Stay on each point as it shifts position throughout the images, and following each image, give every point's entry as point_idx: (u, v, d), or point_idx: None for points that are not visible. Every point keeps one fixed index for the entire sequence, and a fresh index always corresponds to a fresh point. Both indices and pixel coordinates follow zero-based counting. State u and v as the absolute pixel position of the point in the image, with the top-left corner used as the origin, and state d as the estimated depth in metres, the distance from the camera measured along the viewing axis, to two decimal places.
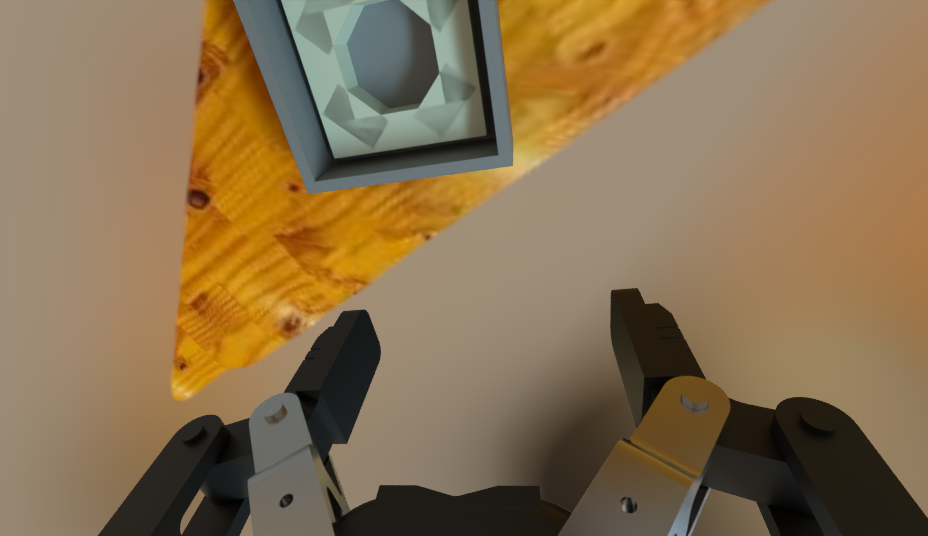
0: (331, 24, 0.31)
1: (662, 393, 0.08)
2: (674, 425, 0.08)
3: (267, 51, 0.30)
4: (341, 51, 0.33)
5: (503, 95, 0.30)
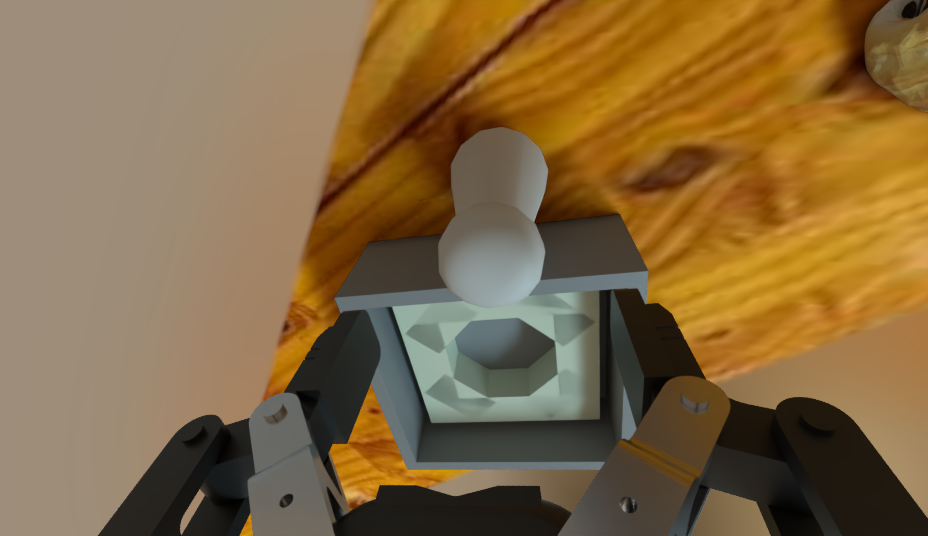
0: (446, 333, 0.29)
1: (662, 393, 0.08)
2: (674, 425, 0.08)
3: (382, 374, 0.28)
4: None
5: None
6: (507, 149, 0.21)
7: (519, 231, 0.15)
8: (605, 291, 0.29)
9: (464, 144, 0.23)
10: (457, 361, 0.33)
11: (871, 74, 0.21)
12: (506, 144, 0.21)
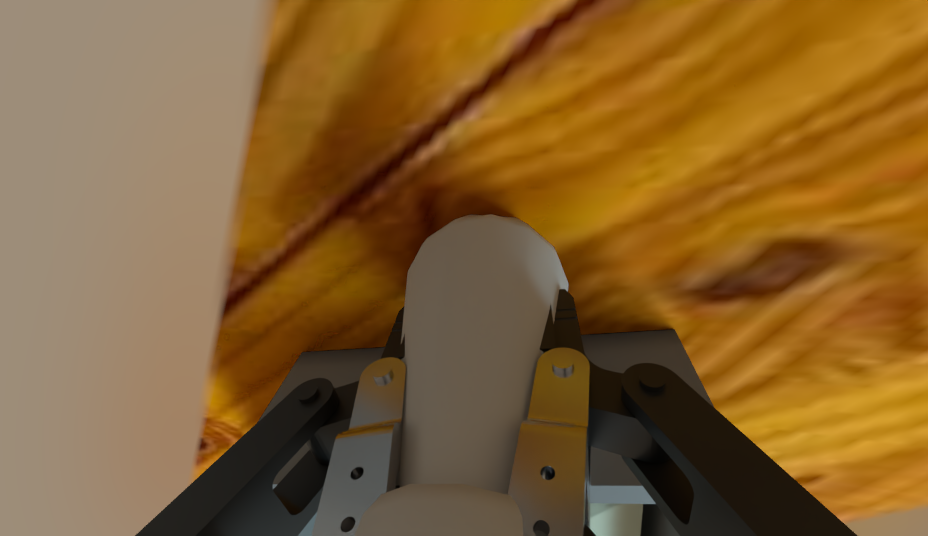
0: None
1: (538, 361, 0.10)
2: (539, 386, 0.09)
3: None
4: None
5: None
6: (499, 270, 0.12)
7: None
8: None
9: (427, 243, 0.14)
10: None
11: None
12: (497, 258, 0.12)
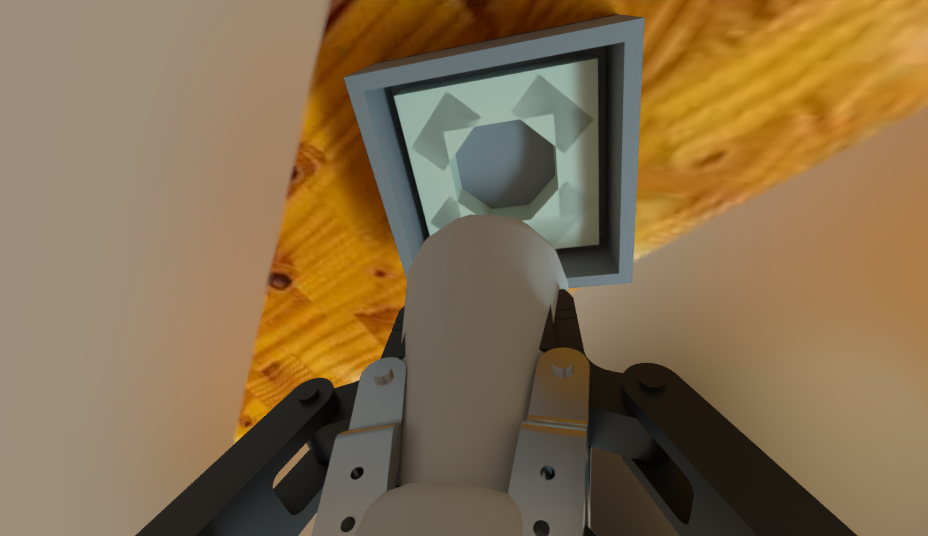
0: (450, 143, 0.30)
1: None
2: (539, 386, 0.09)
3: (389, 177, 0.29)
4: (453, 162, 0.32)
5: (633, 222, 0.29)
6: (499, 270, 0.12)
7: None
8: (604, 103, 0.30)
9: (428, 243, 0.14)
10: (461, 193, 0.34)
11: None
12: (498, 258, 0.12)
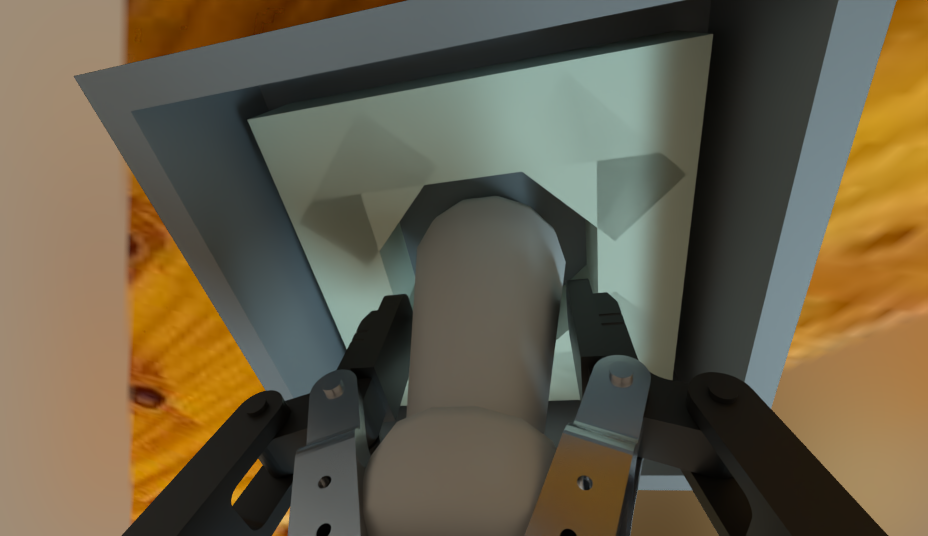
0: (377, 217, 0.15)
1: (593, 370, 0.09)
2: (598, 397, 0.09)
3: (240, 293, 0.14)
4: (391, 245, 0.17)
5: (771, 398, 0.13)
6: (504, 243, 0.13)
7: (527, 516, 0.06)
8: None
9: (437, 221, 0.15)
10: (412, 294, 0.19)
11: None
12: (502, 233, 0.13)
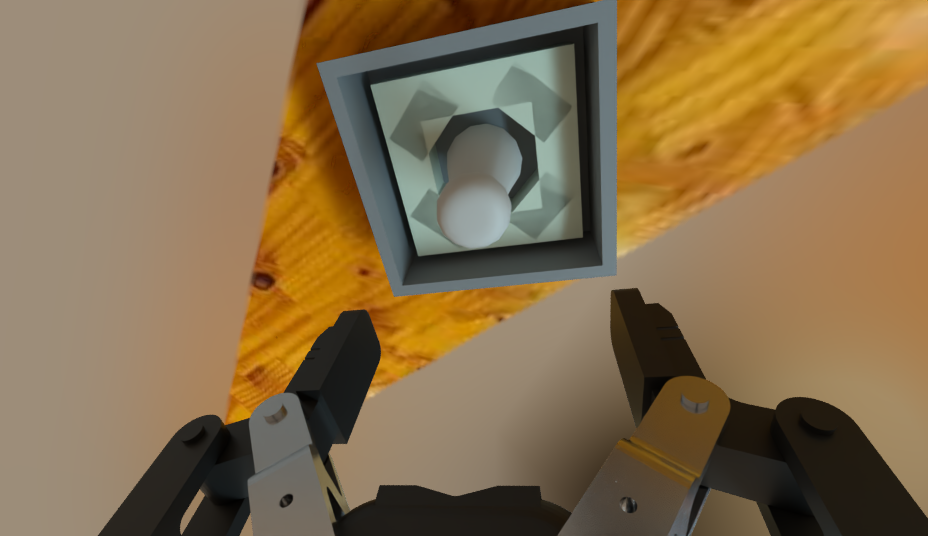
0: (428, 133, 0.30)
1: (662, 393, 0.08)
2: (674, 425, 0.08)
3: (366, 167, 0.29)
4: (433, 154, 0.32)
5: (615, 211, 0.28)
6: (489, 139, 0.28)
7: (492, 189, 0.22)
8: (584, 93, 0.30)
9: (457, 136, 0.30)
10: (442, 186, 0.34)
11: None
12: (489, 136, 0.28)
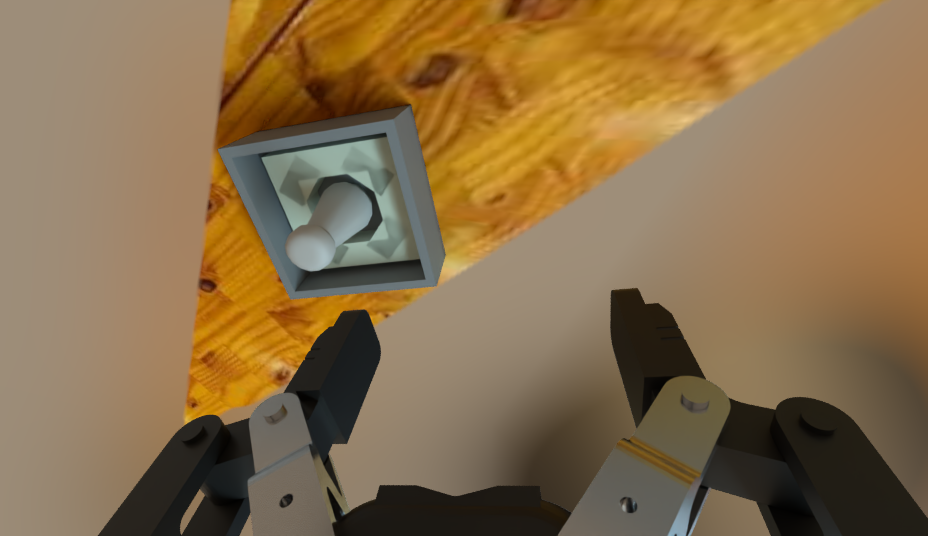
0: (304, 189, 0.44)
1: (662, 393, 0.08)
2: (674, 425, 0.08)
3: (258, 212, 0.43)
4: (313, 200, 0.46)
5: (425, 244, 0.42)
6: (339, 195, 0.42)
7: (314, 237, 0.35)
8: None
9: (325, 190, 0.44)
10: None
11: None
12: (340, 193, 0.42)
